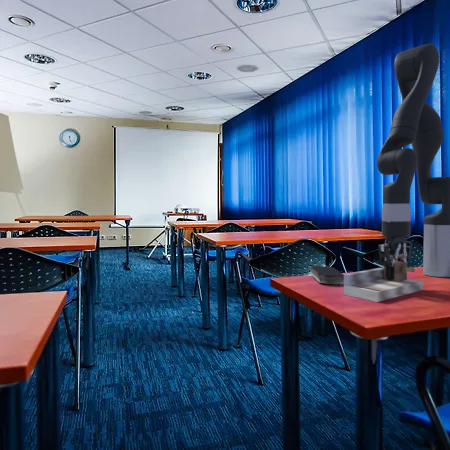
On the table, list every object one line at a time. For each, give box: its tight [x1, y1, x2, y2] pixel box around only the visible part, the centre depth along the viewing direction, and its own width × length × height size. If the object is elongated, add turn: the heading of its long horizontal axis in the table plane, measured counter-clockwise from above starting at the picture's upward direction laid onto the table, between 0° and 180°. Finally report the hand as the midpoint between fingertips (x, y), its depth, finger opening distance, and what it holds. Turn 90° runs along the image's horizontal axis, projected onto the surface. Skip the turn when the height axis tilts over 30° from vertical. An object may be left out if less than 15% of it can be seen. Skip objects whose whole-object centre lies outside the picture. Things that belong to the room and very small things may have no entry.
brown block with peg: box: [383, 260, 416, 282], centre depth 104 cm, size 5×8×5 cm, turn 35°
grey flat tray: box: [343, 266, 424, 303], centre depth 101 cm, size 22×10×6 cm, turn 125°
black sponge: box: [309, 265, 344, 286], centre depth 119 cm, size 16×8×4 cm, turn 177°
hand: (395, 278), depth 106 cm, fingers closed on brown block with peg, 5 cm apart
